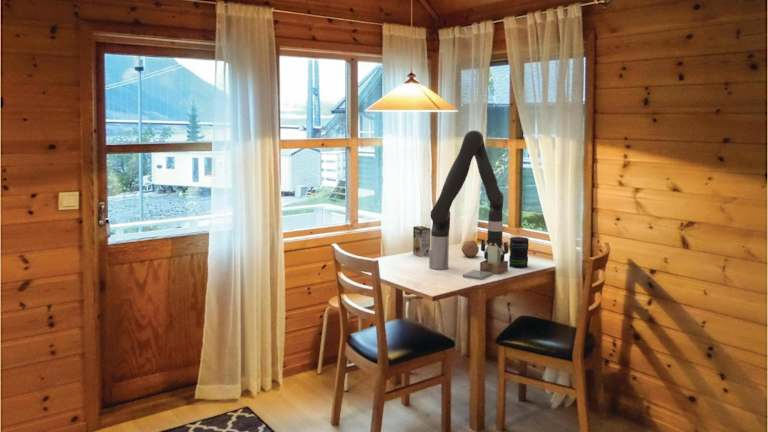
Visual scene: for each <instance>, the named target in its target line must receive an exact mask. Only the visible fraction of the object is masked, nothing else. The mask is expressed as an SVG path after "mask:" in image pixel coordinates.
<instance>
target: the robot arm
mask: <svg viewBox="0 0 768 432" xmlns="http://www.w3.org/2000/svg"><path fill="white" fill-rule="evenodd" d="M473 158H475V162H476V164H477V168H478V174H479V176H480V179H481V181H482V184H483V187H484V190H485V193H486V197H487V200H488V201H489V211H488V219H487V220H488V222H487V239H485V238H483V239H481V242H480V243H481V245H480V251H481V252H483V255H484V256H483V258H484V261H485V260H487V259H488V245H490V246H491V245H492V246H498V251H499V252H500V253H501V257H500V262H503V261H505V255H506V254H509V242H508V241H503V231H504V230H503V229H504V228H503V227H504V225H503V224H504V223H503V207H504V194H503V192H502V191H501V190H500V188H499V185H498V180H497V177H496V175H495V171H494V169H493V167H492V164H491V162H490V160H489V156H488V153H487V149H486V145H485V141H484V136H483V134H482V133H481V132H480V131H479V130H474V129H473V130H470V131H467V132H466V133H465V135H464V137H463V140H462V143H461V147H460V149H459V152H458V153H457V157H456V158H455V160H454V161H453V163H452V165H451V167H450V169H449V172H448V173H447V176H446V178H445V181H444V184H443V185H442V189H441V191H440V194H439V197H438V199H437V201H436V202H435V204H434V206H433V207H432V209H431V210H430V219H431V220H432V227H431V229H430V250H429V256H428V257H429V259H428V261H429V262H428V263H429V264H428V266H429V267H428V268H431V269H434V270H447V269H448V268H449V252H450V250H449V249H450V248H449V247H450V246H449V245H450V241H449V240H450V230H451V228H450V227H451V211H450V209H451V207H452V204H453V202H454V200H455V199H456V197H457V196H458V194H459V192H460V191H461V189H462V188H463V186H464V184H465V182H466V181H467V180H466V179H467V177H468V173H469V171H470V167H471V163H472V160H473ZM486 244H487V246H486Z"/></svg>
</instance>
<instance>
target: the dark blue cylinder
mask: <svg viewBox="0 0 768 432" xmlns="http://www.w3.org/2000/svg"><path fill="white" fill-rule="evenodd" d="M529 241H530V240H529V238H528V237H523V236H513V237H510V238H509V259H508V261H509V262H508V267H509V268H514V269H526V268H528V267H529V266H528V263H529V256H528V254H529V253H528V251H529Z"/></svg>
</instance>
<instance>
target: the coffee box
mask: <svg viewBox="0 0 768 432" xmlns="http://www.w3.org/2000/svg"><path fill="white" fill-rule="evenodd" d="M412 229H413V231H412V232H413V233H412V235H413V236H412V237H413V243H412V247H413V248H412V249H413V250H412V251H413V252H412V253H413V255H415V256H417V257H420V258H423V256H425V257H429V250H430V249H431V228H430V227H426V226H423V225H421V226H413V227H412Z"/></svg>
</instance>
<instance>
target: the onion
mask: <svg viewBox="0 0 768 432" xmlns="http://www.w3.org/2000/svg"><path fill="white" fill-rule="evenodd" d="M479 251H480V249H479V246H478V242H476V241H474V240H471V241H470V240H469V241H466V242H464V243H463V244H462V246H461V252H462V253H463V255H464V256H465V257H467V258H475V257H476V256H477V255H478V253H479Z"/></svg>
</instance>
